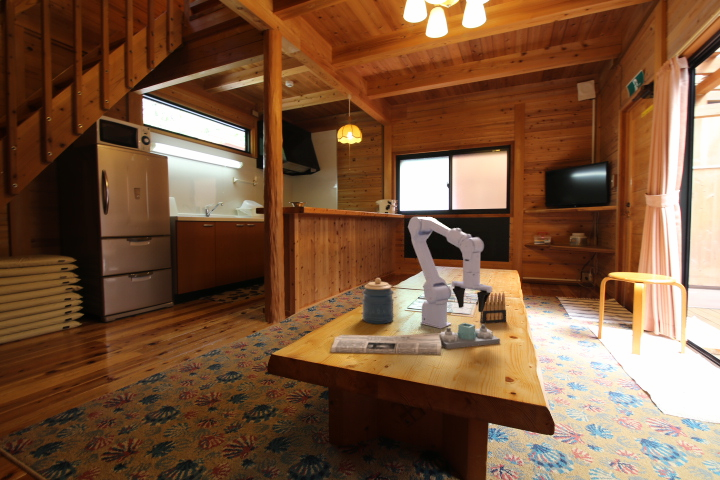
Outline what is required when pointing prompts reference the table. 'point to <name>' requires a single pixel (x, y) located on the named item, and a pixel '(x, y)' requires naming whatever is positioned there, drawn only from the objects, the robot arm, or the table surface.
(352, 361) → the table surface
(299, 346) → the table surface
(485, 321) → the ammunition clip
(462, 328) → the teal gear
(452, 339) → the gear board
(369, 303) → the canister
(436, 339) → the newspaper
